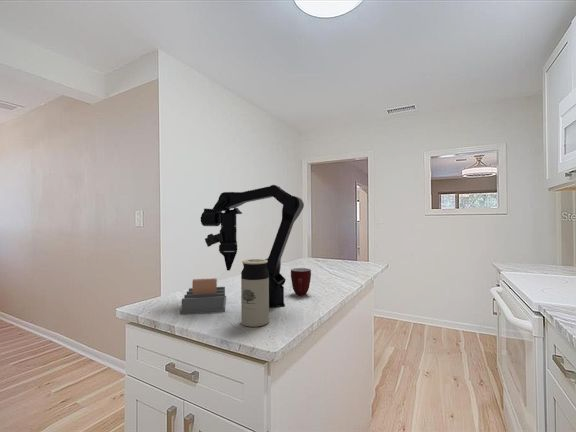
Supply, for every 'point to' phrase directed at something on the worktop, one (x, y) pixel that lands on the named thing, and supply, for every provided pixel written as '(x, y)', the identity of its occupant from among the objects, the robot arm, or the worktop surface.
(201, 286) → the tile
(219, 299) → the coaster holder
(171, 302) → the worktop surface
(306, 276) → the mug
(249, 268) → the travel mug
